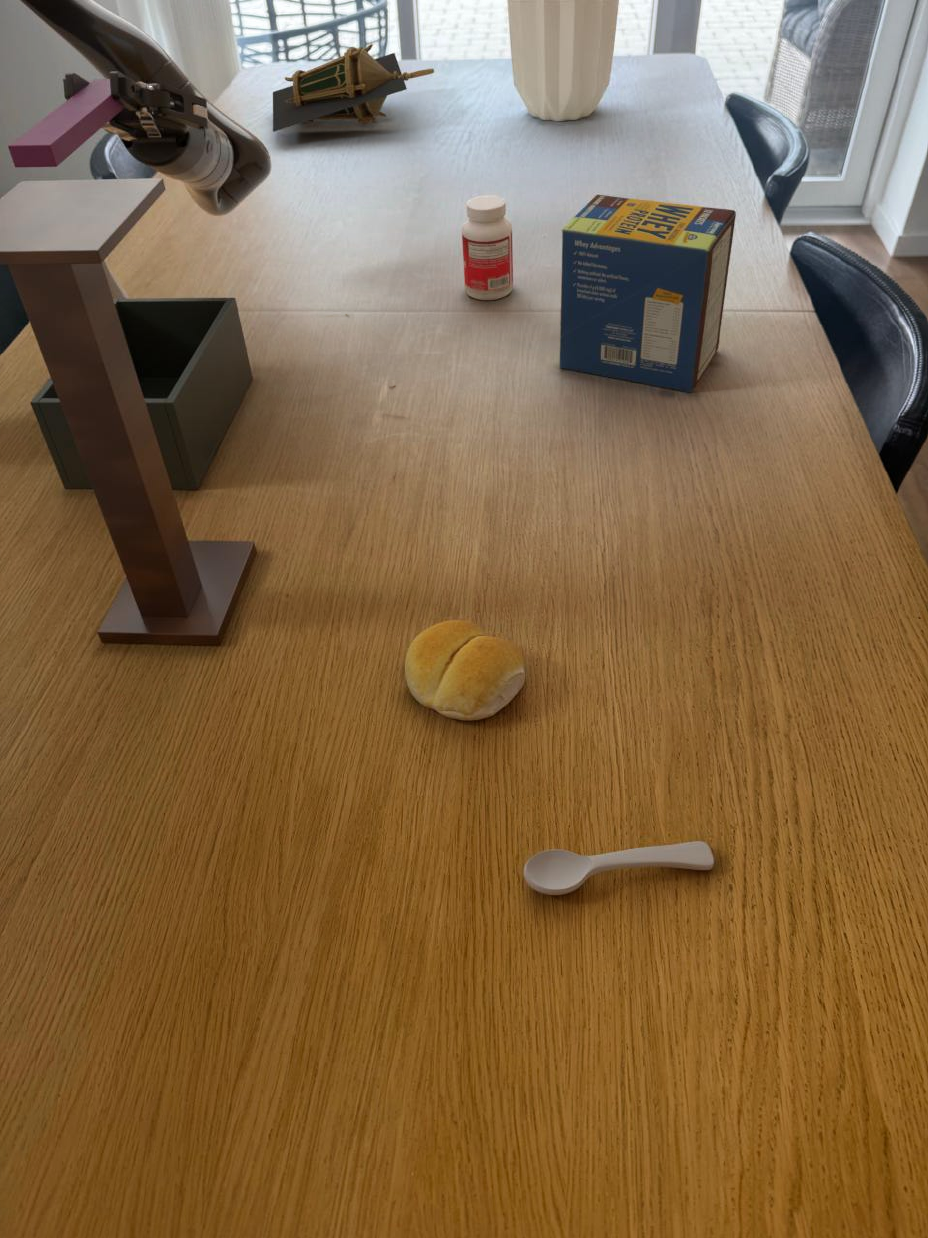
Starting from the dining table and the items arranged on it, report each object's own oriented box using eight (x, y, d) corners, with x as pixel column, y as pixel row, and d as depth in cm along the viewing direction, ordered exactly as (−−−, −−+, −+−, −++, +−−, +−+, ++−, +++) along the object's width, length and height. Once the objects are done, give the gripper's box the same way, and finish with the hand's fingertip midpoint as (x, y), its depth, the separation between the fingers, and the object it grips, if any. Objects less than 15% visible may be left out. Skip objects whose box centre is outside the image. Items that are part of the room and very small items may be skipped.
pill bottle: (478, 277, 126) (474, 189, 118) (521, 284, 124) (520, 195, 116) (456, 297, 122) (451, 207, 114) (500, 304, 120) (498, 214, 112)
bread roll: (451, 626, 78) (448, 589, 75) (541, 675, 73) (541, 637, 71) (381, 687, 73) (375, 649, 70) (472, 742, 69) (469, 704, 66)
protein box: (590, 328, 114) (595, 192, 104) (719, 350, 109) (739, 209, 98) (556, 368, 107) (559, 228, 97) (692, 394, 102) (710, 248, 91)
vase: (501, 101, 183) (497, -76, 164) (602, 92, 184) (610, -84, 165) (516, 132, 169) (514, -57, 150) (626, 123, 170) (638, -67, 151)
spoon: (518, 863, 61) (520, 845, 60) (700, 845, 62) (706, 827, 61) (526, 905, 59) (529, 887, 58) (714, 886, 60) (721, 868, 59)
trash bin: (64, 488, 95) (29, 402, 88) (137, 378, 111) (112, 298, 104) (198, 490, 94) (172, 402, 87) (253, 378, 109) (235, 297, 103)
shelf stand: (101, 642, 78) (-66, 252, 57) (149, 549, 87) (20, 180, 65) (220, 646, 77) (97, 250, 56) (257, 551, 86) (163, 177, 64)
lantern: (289, 129, 190) (432, 70, 186) (294, 181, 174) (450, 118, 171) (257, 58, 180) (408, -6, 176) (260, 106, 164) (424, 38, 161)
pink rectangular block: (14, 167, 74) (7, 145, 73) (100, 98, 87) (94, 78, 86) (57, 166, 74) (49, 144, 73) (136, 97, 87) (131, 77, 86)
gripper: (103, 97, 99) (8, 38, 82) (237, 93, 97) (168, 32, 81) (109, 176, 101) (18, 134, 84) (240, 174, 99) (174, 130, 83)
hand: (92, 84), depth 82 cm, fingers closed on pink rectangular block, 3 cm apart
